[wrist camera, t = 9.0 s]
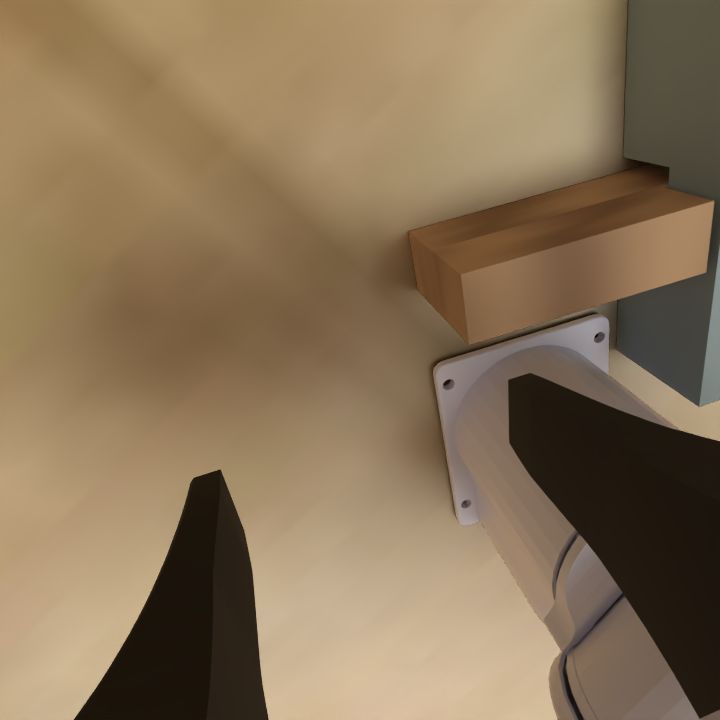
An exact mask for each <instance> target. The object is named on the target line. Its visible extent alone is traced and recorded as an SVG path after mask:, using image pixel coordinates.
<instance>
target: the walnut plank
mask: <svg viewBox="0 0 720 720" xmlns="http://www.w3.org/2000/svg"><path fill="white" fill-rule="evenodd" d="M669 170H670V167H666V166H662V165H657V164H648V165H645V166H641V167H637V168H634V169H630V170H627V171H623V172H619V173H616V174H612V175H609V176H605V177H602V178H598V179H594V180H591V181H587V182H584V183H580V184H576V185H573V186H569V187H566V188H562V189H559V190H555V191H551V192H548V193H544V194H541V195H537V196H533V197H530V198H526V199H523V200H519V201H515V202H512V203H508V204H505V205H501V206H498V207H494V208H490V209H487V210H483V211H480V212H476V213H472V214H469V215H465V216H462V217H458V218H455V219H451V220H447V221H444V222H440V223H437V224H433V225H429V226H426V227H422V228H419V229H415V230H412V231H408V234H409V240H410V246H411V252H412V258H413V264H414V270H415V276H416V283H417V289H418V291H419V292H420V293H421V294H422V295H423V296H424V298H425V299H426V300H427V301H428V302H429V303H430V304H431V305H432V306H433V307H434V308H435V309H436V310H437V311H438V312H439V313H440V315H441V316H442V317H443V318H444V319H445V320H446V321H447V322H448V323H449V324H450V325H451V326H452V327H453V328H454V329H455V330H456V332H457V333H458V334H459V335H460V336H461V337H462V338H463V339H464V340H465V341H466V342H467V343H468V344H469V345H471V344H474V343H477V342H481V341H484V340H487V339H490V338H494V337H497V336H500V335H504V334H507V333H510V332H513V331H517V330H520V329H523V328H526V327H530V326H533V325H536V324H540V323H543V322H546V321H549V320H553V319H556V318H559V317H562V316H566V315H569V314H572V313H575V312H579V311H582V310H585V309H589V308H592V307H595V306H598V305H602V304H605V303H608V302H611V301H615V300H618V299H621V298H625V297H628V296H631V295H634V294H638V293H641V292H644V291H647V290H651V289H654V288H657V287H660V286H664V285H667V284H670V283H674V282H677V281H680V280H683V279H687V278H690V277H693V276H696V275H700V274H703V273H706V270H707V261H708V252H709V244H710V235H711V227H712V218H713V209H714V201H713V200H710V199H706V198H702V197H698V196H694V195H691V194H687V193H683V192H679V191H675V190H672V189H668V184H669Z"/></svg>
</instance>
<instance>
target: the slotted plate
mask: <svg viewBox="0 0 720 720" xmlns="http://www.w3.org/2000/svg"><path fill="white" fill-rule="evenodd" d="M623 157H625V158H629V159H634V160H639V161H643V162H648V163H652V164H657V165H662V166H666V167H670V170H669V184H668V189H672V190H675V191H679V192H683V193H687V194H691V195H694V196H698V197H702V198H706V199H710V200H713V201H714V209H713V218H712V227H711V235H710V244H709V252H708V261H707V270H706V273H703V274H700V275H696V276H693V277H690V278H687V279H683V280H680V281H677V282H674V283H670V284H667V285H664V286H660V287H657V288H654V289H651V290H647V291H644V292H641V293H638V294H634V295H631V296H628V297H625V298H621V299H618V322H617V351H619V352H620V353H622V354H623V355H625V356H626V357H628V358H629V359H631V360H632V361H633V362H635V363H636V364H638V365H639V366H641V367H642V368H644V369H645V370H646V371H648V372H649V373H651V374H652V375H654V376H655V377H657V378H658V379H659V380H661V381H662V382H664V383H665V384H667V385H668V386H670V387H671V388H672V389H674V390H675V391H677V392H678V393H680V394H681V395H683V396H684V397H685V398H687V399H688V400H690V401H691V402H693V403H694V404H696V405H697V406H698V407H700V406H703V405H706V404H709V403H712V402H715V401H718V400H720V0H629V3H628V32H627V61H626V90H625V119H624V148H623Z"/></svg>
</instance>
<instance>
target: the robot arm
mask: <svg viewBox="0 0 720 720" xmlns="http://www.w3.org/2000/svg"><path fill="white" fill-rule="evenodd" d="M597 333H599V335H598V337H597V338H595V339H594V337H595V335H596V334H597ZM608 361H609V320H608V319H607V318H606V317H605V316H603V315H601V314H594V315H590V316H587V317H584V318H581V319H577V320H574V321H571V322H568V323H564V324H561V325H558V326H555V327H551V328H548V329H545V330H542V331H538V332H535V333H532V334H529V335H525V336H522V337H519V338H516V339H512V340H509V341H506V342H503V343H499V344H496V345H493V346H490V347H486V348H483V349H480V350H477V351H473V352H470V353H467V354H463V355H460V356H457V357H454V358H450V359H447V360H444V361H441V362H439V363H438V364H437V365H436V366H435V368H434V370H433V377H434V383H435V389H436V395H437V402H438V408H439V414H440V420H441V426H442V433H443V439H444V445H445V451H446V457H447V463H448V470H449V476H450V482H451V488H452V494H453V501H454V507H455V513H456V518H457V520H458V522H459V524H461V525H463V526H468V525H471V524H474V523H477V522H481V524H482V525H483V527H484V529H485V530H486V532H487V534H488V535H489V537H490V539H491V540H492V542H493V544H494V545H495V547H496V549H497V550H498V552H499V554H500V555H501V557H502V559H503V560H504V562H505V564H506V565H507V567H508V569H509V570H510V572H511V574H512V575H513V577H514V579H515V580H516V582H517V584H518V585H519V587H520V589H521V591H522V592H523V594H524V596H525V597H526V599H527V601H528V602H529V604H530V606H531V607H532V609H533V610H534V612H535V613H536V614H537V616H538V617H539V618H540V620H541V621H542V622H543V623H544V624H545V625H546V627H547V628H548V630H549V632H550V633H551V635H552V636H553V638H554V640H555V641H556V643H557V645H558V646H559V648H560V650H561V653H560V654H559V655H558V656H557V657H556V658H555V659H554V661H553V664H552V666H551V668H550V673H549V688H550V694H551V699H552V703H553V707H554V710H555V713H556V716H557V719H558V720H720V441H716V440H712V439H708V438H704V437H701V436H697V435H694V434H690V433H687V432H683V431H680V430H679V429H678V428H677V427H675V426H674V425H673V424H671V423H670V422H669V421H667V420H666V419H665V418H664V417H662V416H661V415H660V414H658V413H657V412H656V411H654V410H653V409H652V408H651V407H649V406H648V405H647V404H645V403H644V402H643V401H641V400H640V399H639V398H638V397H636V396H635V395H634V394H632V393H631V392H630V391H628V390H627V389H626V388H625V387H623V386H622V385H621V384H619V383H618V382H617V381H615V380H614V379H613V378H612V377H610V376H609V375H608ZM448 379H451V382H450V383H449V384H448V385H444V386H443V383H444V382H445V381H446V380H448ZM465 500H467V501H466V502H464V503H462V502H463V501H465ZM74 720H268V714H267V708H266V703H265V697H264V691H263V686H262V677H261V669H260V659H259V646H258V634H257V621H256V609H255V596H254V584H253V573H252V567H251V562H250V557H249V552H248V547H247V542H246V537H245V532H244V529H243V526H242V524H241V521H240V519H239V516H238V513H237V511H236V508H235V506H234V503H233V500H232V498H231V495H230V493H229V490H228V487H227V485H226V482H225V480H224V477H223V475H222V472H221V470H217V471H214V472H211V473H208V474H204V475H201V476H198V477H195V478H193V480H192V482H191V483H190V487H189V491H188V495H187V498H186V502H185V505H184V508H183V512H182V515H181V518H180V521H179V524H178V527H177V530H176V532H175V535H174V538H173V540H172V543H171V546H170V548H169V551H168V554H167V556H166V559H165V561H164V564H163V566H162V568H161V570H160V573H159V575H158V577H157V579H156V582H155V584H154V586H153V589H152V591H151V593H150V595H149V597H148V599H147V601H146V603H145V605H144V607H143V609H142V611H141V613H140V615H139V617H138V619H137V621H136V623H135V624H134V626H133V628H132V630H131V632H130V634H129V635H128V637H127V639H126V641H125V642H124V644H123V646H122V647H121V649H120V651H119V652H118V654H117V656H116V657H115V659H114V661H113V662H112V664H111V666H110V667H109V669H108V671H107V672H106V674H105V675H104V677H103V678H102V680H101V681H100V683H99V684H98V686H97V688H96V689H95V690H94V692H93V693H92V695H91V696H90V697H89V699H88V700H87V702H86V703H85V705H84V706H83V707H82V709H81V710H80V712H79V713H78V714H77V716H76V717H75V719H74Z"/></svg>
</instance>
